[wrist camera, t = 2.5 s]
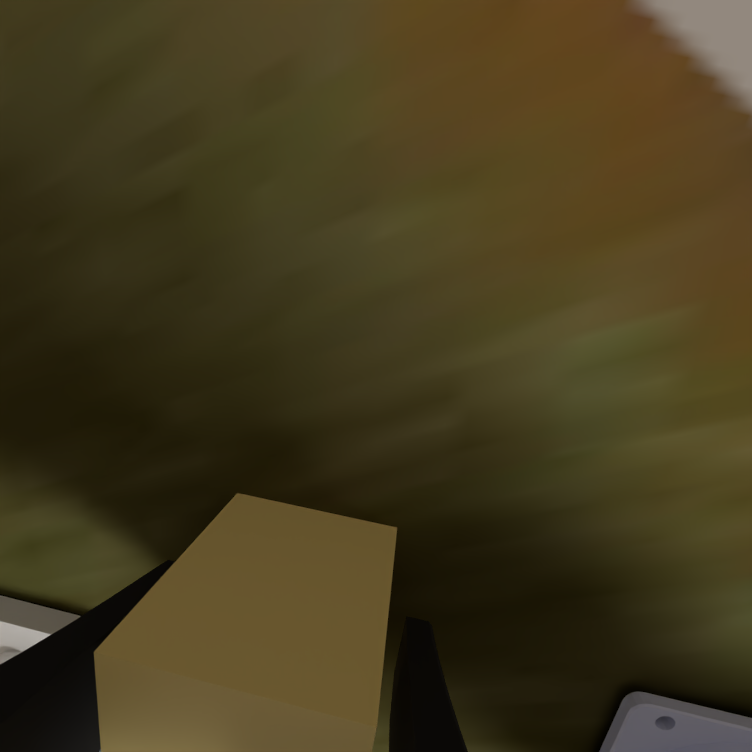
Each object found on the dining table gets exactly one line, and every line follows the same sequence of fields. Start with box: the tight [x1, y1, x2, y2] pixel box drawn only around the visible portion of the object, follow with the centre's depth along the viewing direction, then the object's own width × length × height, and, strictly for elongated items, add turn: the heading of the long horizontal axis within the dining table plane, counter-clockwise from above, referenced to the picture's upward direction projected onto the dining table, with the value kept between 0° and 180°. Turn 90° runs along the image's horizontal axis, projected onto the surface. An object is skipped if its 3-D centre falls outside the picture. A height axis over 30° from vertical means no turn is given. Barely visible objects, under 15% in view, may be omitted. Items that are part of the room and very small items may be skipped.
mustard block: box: [94, 493, 397, 752], centre depth 9 cm, size 5×5×5 cm
